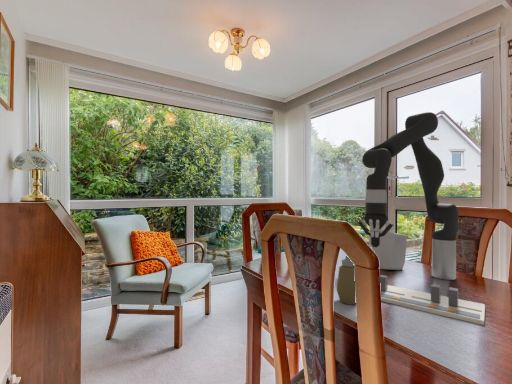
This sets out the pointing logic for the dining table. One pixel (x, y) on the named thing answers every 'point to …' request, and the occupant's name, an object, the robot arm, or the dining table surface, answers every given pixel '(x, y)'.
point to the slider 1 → (384, 282)
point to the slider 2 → (453, 296)
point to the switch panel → (435, 304)
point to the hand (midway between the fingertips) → (375, 246)
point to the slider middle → (435, 293)
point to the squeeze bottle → (346, 282)
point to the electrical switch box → (391, 250)
